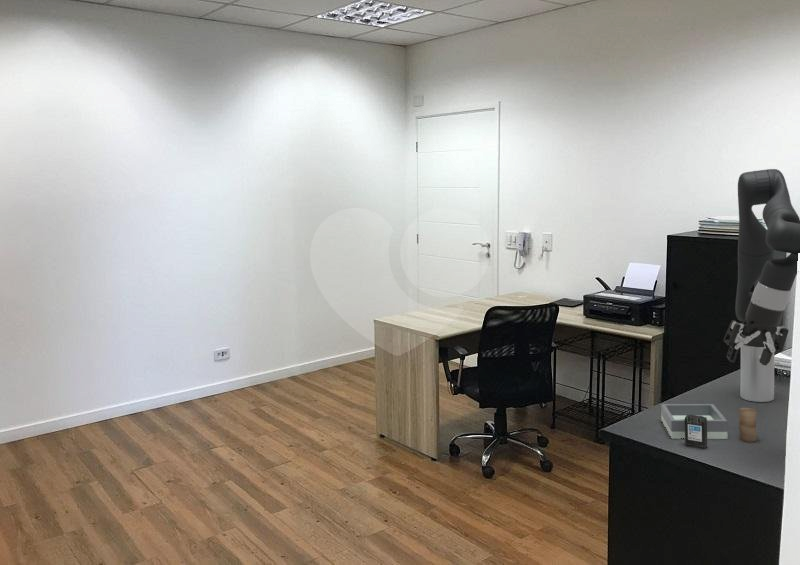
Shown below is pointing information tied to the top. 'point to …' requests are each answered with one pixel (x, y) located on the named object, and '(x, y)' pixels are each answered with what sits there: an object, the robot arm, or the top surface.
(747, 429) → the peg
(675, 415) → the socket box
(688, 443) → the ink cartridge
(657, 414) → the top surface
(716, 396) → the top surface
